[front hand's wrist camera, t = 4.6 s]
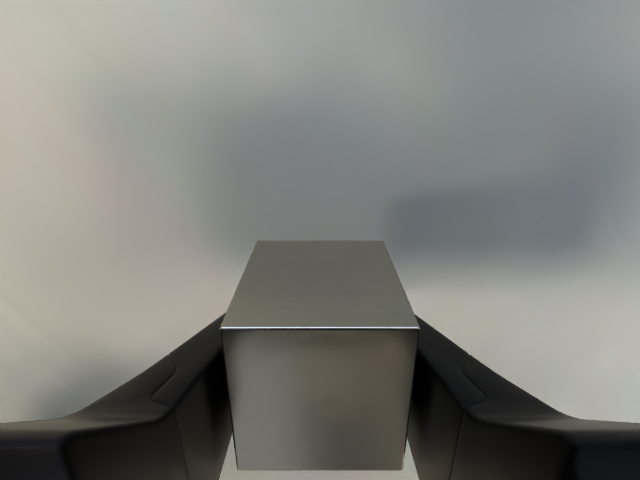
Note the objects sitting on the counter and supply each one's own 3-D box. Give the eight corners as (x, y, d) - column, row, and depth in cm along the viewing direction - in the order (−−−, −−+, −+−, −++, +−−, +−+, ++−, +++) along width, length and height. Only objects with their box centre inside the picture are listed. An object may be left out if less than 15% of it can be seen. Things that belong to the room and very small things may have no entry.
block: (375, 346, 13) (403, 471, 9) (264, 346, 13) (236, 471, 9) (383, 240, 12) (421, 327, 7) (256, 240, 12) (217, 327, 7)
